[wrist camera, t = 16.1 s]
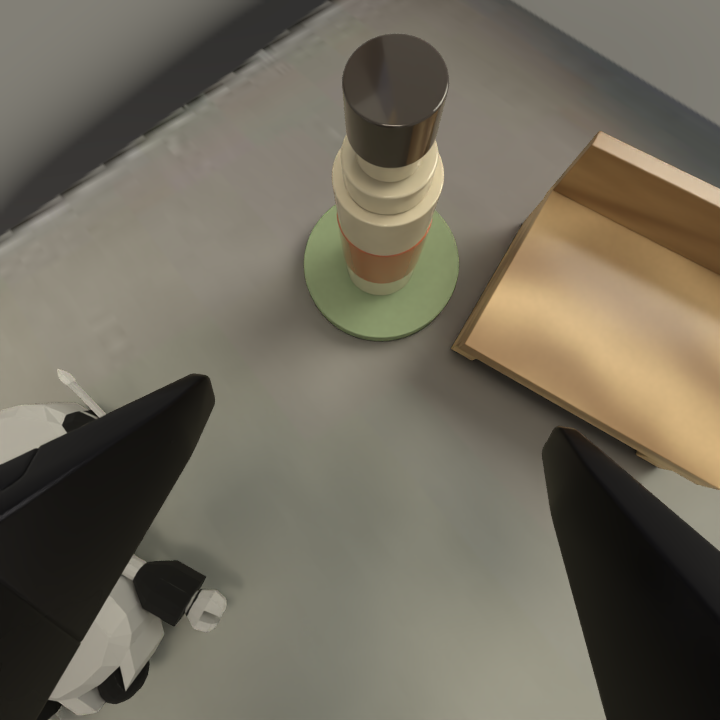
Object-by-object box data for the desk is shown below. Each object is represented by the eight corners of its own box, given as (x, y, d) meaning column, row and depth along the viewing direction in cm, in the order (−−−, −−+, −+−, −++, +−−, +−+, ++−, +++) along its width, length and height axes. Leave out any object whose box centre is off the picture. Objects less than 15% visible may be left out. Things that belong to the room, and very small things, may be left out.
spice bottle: (376, 310, 19) (386, 185, 8) (330, 258, 19) (281, 72, 8) (431, 265, 19) (512, 84, 8) (384, 215, 20) (403, -19, 9)
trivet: (331, 361, 20) (329, 358, 19) (288, 225, 21) (284, 216, 20) (476, 314, 20) (482, 309, 19) (425, 181, 21) (428, 170, 20)
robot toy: (260, 576, 19) (113, 363, 20) (230, 637, 14) (40, 357, 15) (75, 716, 18) (-70, 490, 19) (-16, 825, 14) (-203, 524, 14)
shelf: (655, 474, 18) (810, 513, 12) (447, 354, 19) (485, 330, 13) (729, 321, 19) (910, 280, 13) (527, 216, 20) (600, 129, 14)
